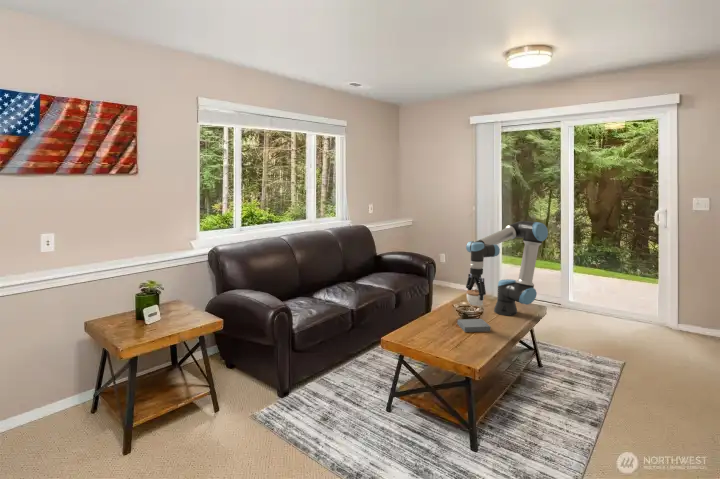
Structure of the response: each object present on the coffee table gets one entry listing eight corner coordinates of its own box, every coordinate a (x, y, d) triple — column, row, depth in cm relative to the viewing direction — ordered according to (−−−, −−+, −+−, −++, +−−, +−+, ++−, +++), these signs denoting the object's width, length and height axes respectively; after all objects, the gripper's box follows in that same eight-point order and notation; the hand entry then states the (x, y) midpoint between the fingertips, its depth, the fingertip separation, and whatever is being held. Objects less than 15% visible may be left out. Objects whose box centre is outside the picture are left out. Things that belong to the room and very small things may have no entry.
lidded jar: (484, 307, 250) (485, 292, 249) (466, 306, 253) (467, 291, 251) (483, 302, 261) (483, 287, 260) (465, 301, 263) (466, 286, 262)
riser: (481, 323, 267) (481, 318, 266) (490, 331, 253) (490, 326, 252) (457, 324, 265) (457, 319, 265) (464, 332, 251) (464, 327, 251)
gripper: (461, 264, 263) (459, 298, 266) (482, 272, 241) (480, 308, 244) (471, 263, 266) (470, 297, 269) (493, 271, 244) (491, 307, 247)
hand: (474, 302), depth 257 cm, fingers closed on lidded jar, 11 cm apart
